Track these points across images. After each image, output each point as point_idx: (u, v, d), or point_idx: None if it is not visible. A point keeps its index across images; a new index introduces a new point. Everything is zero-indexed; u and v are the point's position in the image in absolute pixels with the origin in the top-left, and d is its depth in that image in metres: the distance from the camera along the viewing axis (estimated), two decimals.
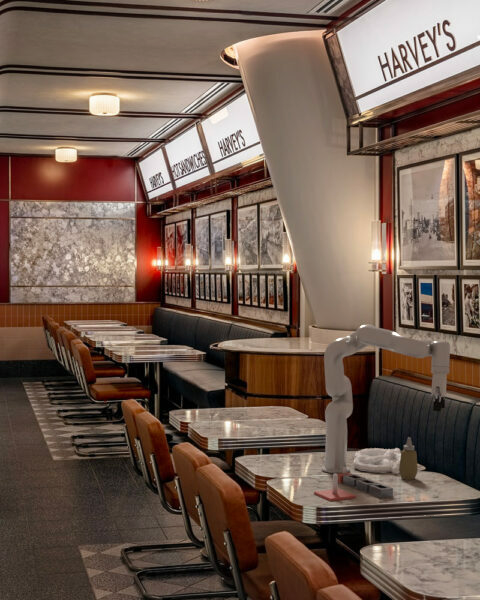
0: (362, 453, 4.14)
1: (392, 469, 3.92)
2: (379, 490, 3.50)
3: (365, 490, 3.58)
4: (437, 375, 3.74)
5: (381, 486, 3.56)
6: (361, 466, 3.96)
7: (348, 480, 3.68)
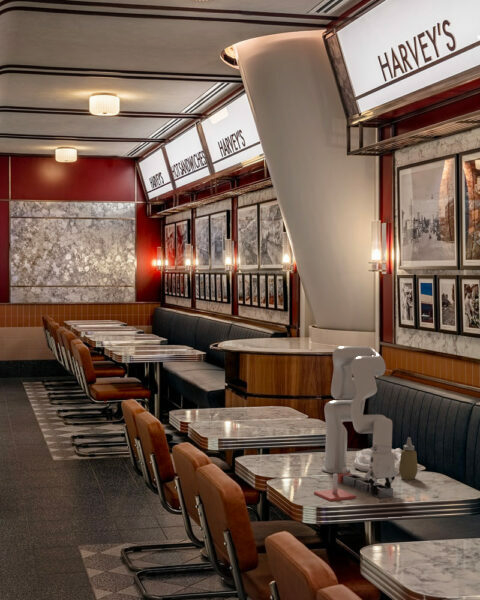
0: (363, 453, 4.14)
1: None
2: (379, 490, 3.50)
3: (365, 490, 3.58)
4: None
5: (381, 486, 3.56)
6: (361, 466, 3.96)
7: (348, 480, 3.68)
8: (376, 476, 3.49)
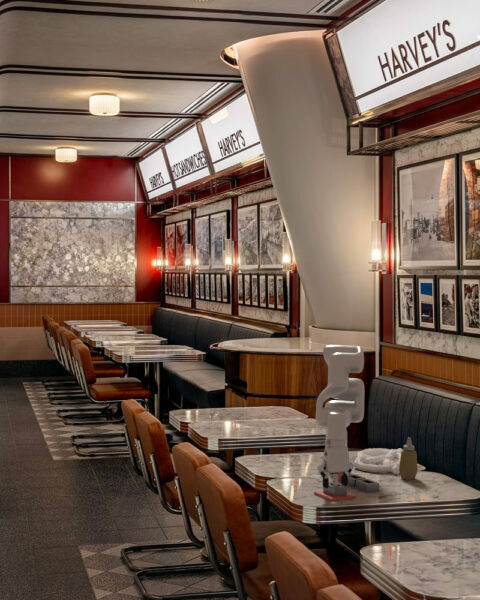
0: (364, 453, 4.14)
1: (392, 469, 3.92)
2: (333, 488, 3.47)
3: (365, 490, 3.58)
4: None
5: None
6: (361, 466, 3.96)
7: (348, 480, 3.68)
8: (330, 470, 3.46)
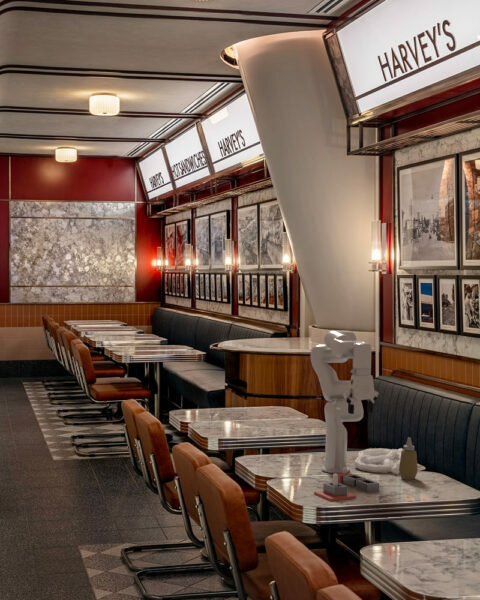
0: (365, 453, 4.14)
1: (392, 469, 3.92)
2: (333, 488, 3.47)
3: (365, 490, 3.58)
4: None
5: None
6: (361, 466, 3.97)
7: (348, 480, 3.68)
8: (356, 397, 3.65)
